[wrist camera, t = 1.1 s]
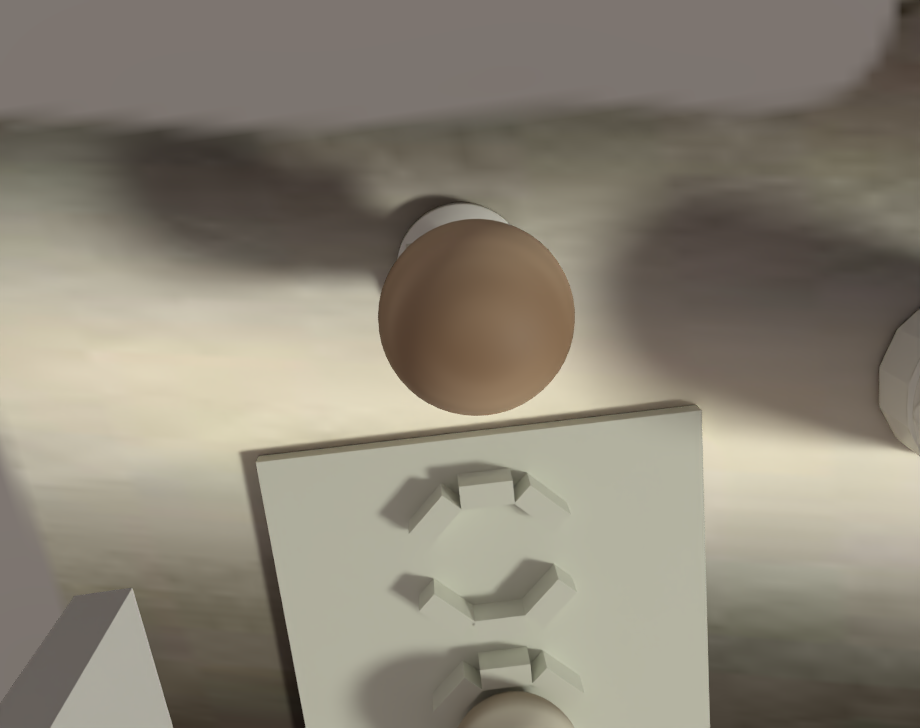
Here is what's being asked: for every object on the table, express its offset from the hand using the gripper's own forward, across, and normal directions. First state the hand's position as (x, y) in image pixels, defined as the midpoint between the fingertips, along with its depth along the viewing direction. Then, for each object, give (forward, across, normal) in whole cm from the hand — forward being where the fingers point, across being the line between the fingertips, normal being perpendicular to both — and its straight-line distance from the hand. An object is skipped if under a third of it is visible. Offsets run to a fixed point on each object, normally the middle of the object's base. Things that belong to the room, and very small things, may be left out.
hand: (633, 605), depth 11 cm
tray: (+18, -2, -17) cm, 25 cm away
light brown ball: (+14, -1, +1) cm, 14 cm away
